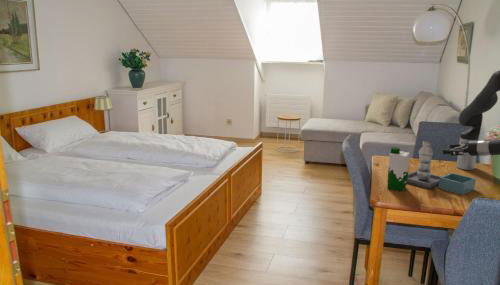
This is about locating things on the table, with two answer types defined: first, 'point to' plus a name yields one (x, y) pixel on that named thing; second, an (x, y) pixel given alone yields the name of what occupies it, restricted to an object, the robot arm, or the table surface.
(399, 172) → the milk carton
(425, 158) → the plastic bottle
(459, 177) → the teal open box
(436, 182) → the tray
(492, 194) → the table surface
